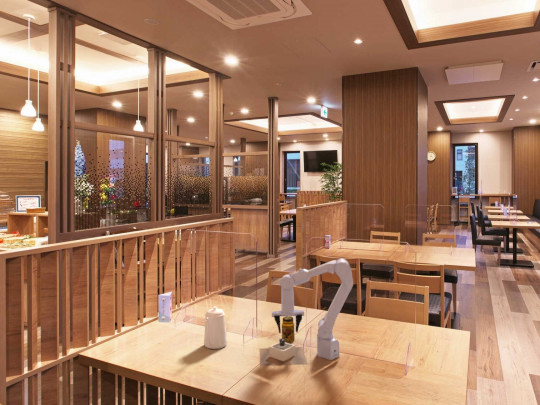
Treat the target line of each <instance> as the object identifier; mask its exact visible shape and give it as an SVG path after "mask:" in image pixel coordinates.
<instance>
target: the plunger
mask: <svg viewBox="0 0 540 405" xmlns="http://www.w3.org/2000/svg"><path fill="white" fill-rule="evenodd" d="M278 340H279V341H278V342H280V343H279V344H277V347H278V348H280V349H281V350H283V349H285V348H287V344H286V343H285V339H282V338H279V339H278Z"/></svg>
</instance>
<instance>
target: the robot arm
mask: <svg viewBox="0 0 540 405" xmlns="http://www.w3.org/2000/svg"><path fill="white" fill-rule="evenodd" d="M326 273H329V274H332V275H334V274H335V275H337V276H338V277H339V279H340V281H341V284H340V286H339V287H338V290H337V292H336V294H335V295H334V297H333V299H332V301H331V304H330V306H329V307H328V309H327V312H326V313H325V314H324V316H323V317H322V318H321V319H320V320H319V322H318V329H317V335H316V342H317V343H316V344H317V346H316V354H317V356H318V357H319V358H323V359H326V360H328V361H332V360H334V359H336V358H339V357H340V341H339V340H338V339H337V338H335V337H334V334H333V330H334V329H333V328H334V326H335V323H336V320H337V318H338V317H339V314H340V312H341V311H342V308H343V306H344V304H345V301H347V298H348V296H349V294H350V292H351V291H352V288H353V286H354V278H353V272H352V268H351V264H350V263H349V261H348V260H347V259H345V258H340V257H339V258H338V259H333V260H331V261H328V262H327V261H326V262H325V263H323V264H320V265H318V266H314V267H313V268H311V269H306V268H303V269H302V268H301V267H300V268H299V269H298V270H297V271H295V272H289V273H288V274H285V275H283V276H282V277H281V279H280V282H279V283H280V285H279V286H280V287H281V288H280V290H281V292H280V298H281V299H280V302H281V304H280V306H281V310H276V311H271V318H274V322H275V323H276V325H277V328H278V334H282V328H281V317H286V316H290V317H295V332H296V333H299V332H298V331H299V328H300V324H301V323H302V319H303V317H304V316H305V310H298V309H295V292H294V286H296V287H297V286H298V285H302V284H305V283H307V282H309V281H310V279H311V278H313V277H315V276H319V275H323V274H326Z"/></svg>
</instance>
